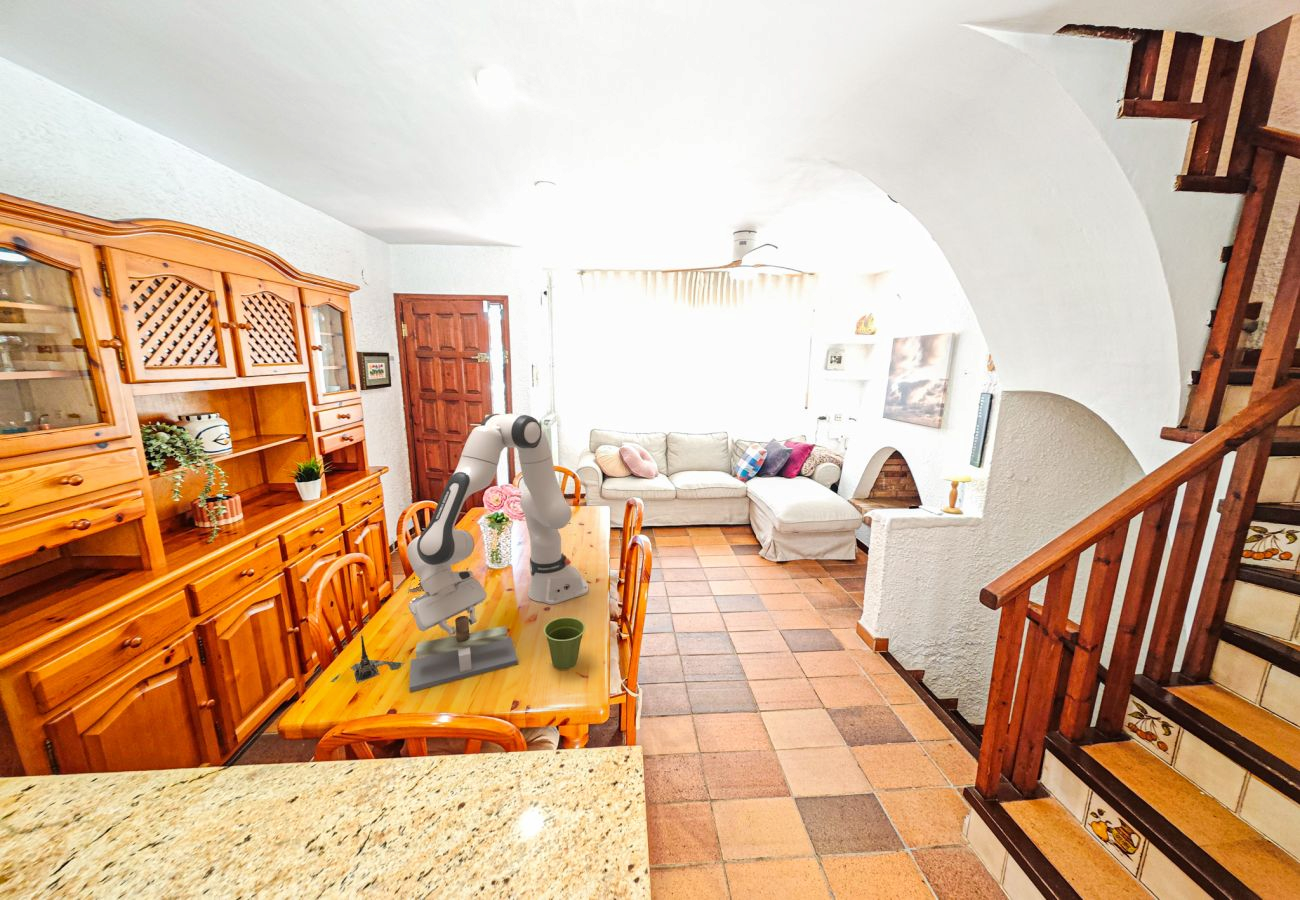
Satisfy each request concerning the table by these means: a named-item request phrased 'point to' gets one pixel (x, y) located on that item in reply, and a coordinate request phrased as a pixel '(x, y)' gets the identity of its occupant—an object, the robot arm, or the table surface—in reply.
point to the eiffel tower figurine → (369, 666)
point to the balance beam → (461, 639)
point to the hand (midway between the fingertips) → (463, 628)
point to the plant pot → (564, 641)
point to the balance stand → (461, 664)
